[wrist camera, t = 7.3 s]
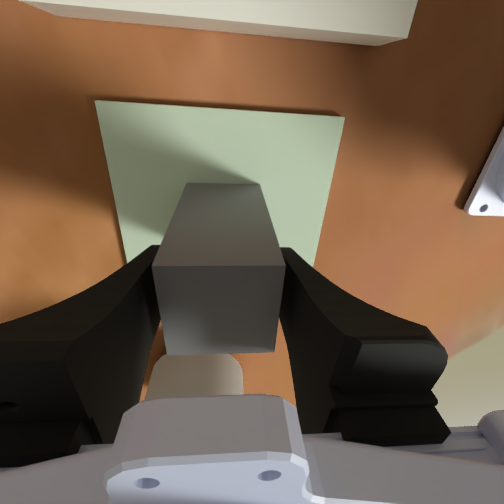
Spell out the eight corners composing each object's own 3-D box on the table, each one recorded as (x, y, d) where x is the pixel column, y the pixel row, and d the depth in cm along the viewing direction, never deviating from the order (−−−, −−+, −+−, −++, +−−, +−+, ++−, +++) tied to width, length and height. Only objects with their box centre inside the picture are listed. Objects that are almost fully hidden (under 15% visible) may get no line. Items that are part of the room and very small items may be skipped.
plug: (259, 184, 15) (285, 265, 8) (256, 246, 17) (274, 352, 10) (186, 182, 15) (151, 266, 8) (191, 246, 17) (167, 355, 10)
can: (167, 397, 26) (127, 604, 15) (141, 343, 22) (64, 573, 11) (247, 386, 26) (259, 585, 15) (235, 330, 22) (241, 548, 11)
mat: (341, 116, 14) (345, 117, 14) (304, 295, 20) (305, 300, 20) (98, 100, 13) (94, 100, 13) (136, 295, 19) (134, 300, 19)
